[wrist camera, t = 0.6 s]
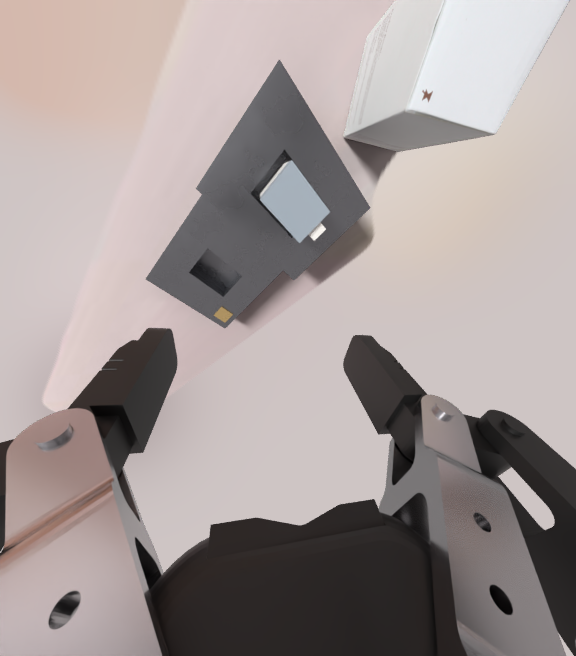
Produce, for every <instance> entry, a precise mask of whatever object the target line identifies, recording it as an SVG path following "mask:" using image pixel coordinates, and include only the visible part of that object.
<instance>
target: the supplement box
mask: <svg viewBox="0 0 576 656" xmlns="http://www.w3.org/2000/svg"><path fill="white" fill-rule="evenodd" d="M569 1H570V0H395V1H394V2H393V4H392V5H391V6H390V8H389V9H388V10H387V12H386V13H385V14H384V15H383V17H382V18H381V19H380V20H379V22H378V23H377V24H376V26H375V27H374V28H373V30H372V31H371V32H370V34H369V35H368V36H367V39H366V43H365V47H364V51H363V55H362V59H361V64H360V68H359V72H358V76H357V80H356V85H355V89H354V93H353V98H352V102H351V106H350V110H349V115H348V119H347V123H346V127H345V132H344V136H343V137H344V138H347V139H351V140H355V141H359V142H363V143H366V144H370V145H374V146H378V147H382V148H385V149H389V150H393V151H397V152H400V151H405V150H411V149H416V148H422V147H427V146H433V145H439V144H446V143H451V142H457V141H462V140H468V139H474V138H479V137H485V136H490V135H494V134H496V133H497V131H498V129H499V127H500V126H501V124H502V122H503V120H504V118H505V116H506V115H507V113H508V111H509V109H510V107H511V106H512V104H513V102H514V100H515V98H516V96H517V95H518V93H519V91H520V89H521V87H522V85H523V84H524V82H525V80H526V78H527V77H528V75H529V73H530V71H531V69H532V67H533V65H534V64H535V62H536V60H537V59H538V57H539V55H540V53H541V51H542V50H543V48H544V46H545V44H546V42H547V41H548V39H549V37H550V35H551V33H552V31H553V30H554V28H555V26H556V24H557V23H558V21H559V19H560V17H561V15H562V14H563V12H564V10H565V8H566V6H567V5H568V3H569Z"/></svg>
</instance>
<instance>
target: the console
mask: <svg viewBox="0 0 576 656" xmlns="http://www.w3.org/2000/svg"><path fill="white" fill-rule="evenodd" d="M291 160H292V161H293V162H294V164H295V165H296V166H297V168H298V169H299V170H300V172H301V173H302V174H303V176H304V177H305V178H306V180H307V181H308V183H309V184H310V185H311V187H312V188H313V189H314V191H315V192H316V193H317V195H318V196H319V197H320V199H321V200H322V201H323V203H324V204H325V206H326V207H327V208H328V210H329V211H330V213H329V214H328V215H327V216H326V217H325V218H324V219H323V220H322V221H321V223H322V225H323V226H324V227H325V228H326V230H325V231H324V232H323V233H322V234H321V235H320V236H319V237H318V238H317V239H316V240H315V241H314V240H313V239H312V238H311V237H310V236H309V234H308V235H307V236H306V237H305V238H304V239H303V240H302V241H301V242H300V243H299V242H298V241H297V240H296V239H295V238H294V237H293V236H292V234H291V233H290V232H289V231H288V230H287V229H286V228H285V227H284V226H283V225H282V224H281V222H280V221H279V220H278V219H277V218H276V217H275V216H274V215H273V214H272V213H271V212H270V210H269V209H268V208H267V207H266V206H265V205H264V204H263V203H262V202H261V201H260V191H261V190H262V189H263V187H264V186H265V185H266V184H267V182H268V181H269V180H270V179H271V177H272V176H273V175H274V173H275V172H276V171H277V170H278V168H279V167H280V166H281V165H282V164H284V163H286V162H289V161H291ZM196 189H197V190H198V191H199V192H200V193H201V194H202V195H201V197H200V198H199V200H198V201H197V203H196V204H195V206H194V207H193V209H192V210H191V212H190V213H189V215H188V216H187V218H186V219H185V221H184V222H183V224H182V225H181V227H180V228H179V230H178V231H177V233H176V234H175V236H174V237H173V239H172V240H171V242H170V243H169V245H168V246H167V248H166V249H165V251H164V252H163V254H162V255H161V257H160V258H159V260H158V261H157V263H156V264H155V266H154V267H153V269H152V270H151V272H150V273H149V275H148V276H147V278H146V280H148V281H149V282H151V283H153V284H154V285H156V286H157V287H159V288H161V289H162V290H164V291H165V292H167V293H169V294H170V295H172V296H174V297H175V298H177V299H178V300H180V301H182V302H183V303H185V304H186V305H188V306H190V307H191V308H193V309H194V310H196V311H198V312H199V313H201V314H203V315H204V316H206V317H207V318H209V319H211V320H212V321H214V322H215V323H217V324H219V325H220V326H222V327H223V328H226V327H227V326H228V325H229V324H230V323H231V322H232V321H233V320H234V319H235V318H236V317H237V316H238V315H239V314H240V313H241V312H242V311H243V310H244V309H245V308H246V307H247V306H248V305H249V304H250V303H251V302H252V301H253V300H254V299H255V298H256V297H257V296H258V295H259V294H260V293H261V292H262V291H263V290H264V289H265V288H266V287H267V286H268V285H269V284H270V283H271V282H272V281H273V280H274V279H275V278H276V277H277V276H278V275H279V274H280V273H281V272H282V271H284V272H285V273H286V274H288V275H289V276H290V277H291V278H292V279H293V280H295V279H296V278H297V277H298V276H299V275H300V274H301V273H302V272H303V271H304V270H305V269H307V268H308V267H309V266H310V265H311V264H312V263H313V262H314V261H315V260H316V259H317V258H318V257H319V256H320V255H321V254H322V253H323V252H324V251H325V250H327V249H328V248H329V247H330V246H331V245H332V244H333V243H334V242H335V241H336V240H337V239H338V238H339V237H340V236H341V235H342V234H343V233H344V232H345V231H347V230H348V229H349V228H350V227H351V226H352V225H353V224H354V223H355V222H356V221H357V220H358V219H359V218H360V217H361V216H362V215H363V214H364V213H366V212H367V211H368V210H369V209H370V206H369V205H368V203H367V202H366V200H365V198H364V197H363V195H362V193H361V192H360V190H359V188H358V187H357V185H356V184H355V182H354V180H353V179H352V177H351V175H350V174H349V172H348V171H347V169H346V167H345V166H344V164H343V162H342V161H341V159H340V157H339V156H338V154H337V153H336V151H335V149H334V148H333V146H332V144H331V143H330V141H329V139H328V138H327V136H326V135H325V133H324V131H323V130H322V128H321V126H320V125H319V123H318V122H317V120H316V118H315V117H314V115H313V113H312V112H311V110H310V108H309V107H308V105H307V104H306V102H305V100H304V99H303V97H302V95H301V94H300V92H299V90H298V89H297V87H296V86H295V84H294V82H293V81H292V79H291V77H290V76H289V74H288V73H287V71H286V69H285V68H284V66H283V64H282V63H281V61H280V59H279V61H278V62H277V64H276V66H275V67H274V69H273V70H272V72H271V73H270V75H269V76H268V78H267V79H266V81H265V83H264V84H263V86H262V87H261V89H260V90H259V92H258V93H257V95H256V96H255V98H254V100H253V101H252V103H251V104H250V106H249V107H248V109H247V110H246V112H245V113H244V115H243V117H242V118H241V120H240V121H239V123H238V124H237V126H236V127H235V129H234V130H233V132H232V134H231V135H230V137H229V138H228V140H227V141H226V143H225V144H224V146H223V147H222V149H221V151H220V152H219V154H218V155H217V157H216V158H215V160H214V161H213V163H212V164H211V166H210V168H209V169H208V171H207V172H206V174H205V175H204V177H203V178H202V180H201V181H200V183H199V185H198V186H197V188H196Z"/></svg>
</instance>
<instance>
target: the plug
mask: <svg viewBox="0 0 576 656" xmlns="http://www.w3.org/2000/svg"><path fill="white" fill-rule="evenodd" d="M260 201H261V202H262V203H263V204H264V205H265V206H266V207H267V208H268V209H269V210H270V212H271V213H272V214H273V215H274V216H275V217H276V218H277V219H278V220H279V221H280V222H281V224H282V225H283V226H284V227H285V228H286V229H287V230H288V231H289V232H290V233H291V234H292V236H293V237H294V238H295V239H296V240H297V241H298V242H299V243H300V242H301V241H302V240H303V239H304V238H305V237H306V236H307V235H308V234H309V236H310V237H311V238H312V239H313V240H314V241H315V240H316V239H317V238H318V237H319V236H320V235H321V234H322V233H323V232H324V231H325V230H326V228H325V227H324V226H323V225H322V223H321V221H322V220H323V219H324V218H325V217H326V216H327V215H328V214H329V213H330V211H329V210H328V208H327V207H326V206H325V204H324V203H323V201H322V200H321V199H320V197H319V196H318V195H317V193H316V192H315V191H314V189H313V188H312V187H311V185H310V184H309V183H308V181H307V180H306V178H305V177H304V176H303V174H302V173H301V172H300V170H299V169H298V168H297V166H296V165H295V164H294V162H293V161H292V160H291V161H289V162H286V163H284V164H282V165H281V166H280V167H279V168H278V170H277V171H276V172H275V173H274V175H273V176H272V177H271V179H270V180H269V181H268V182H267V184H266V185H265V186H264V187H263V189H262V190H261V191H260Z"/></svg>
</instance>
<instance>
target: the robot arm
mask: <svg viewBox="0 0 576 656" xmlns="http://www.w3.org/2000/svg"><path fill="white" fill-rule="evenodd" d="M343 366H344V371H345V373H346V375H347V377H348V379H349V381H350V382H351V384H352V386H353V388H354V390H355V392H356V394H357V395H358V397H359V399H360V401H361V403H362V405H363V407H364V408H365V410H366V412H367V414H368V416H369V418H370V419H371V421H372V423H373V425H374V427H375V429H376V431H377V433H378V434H391V436H392V437H393V438H392V440H391V441H390V445H389V456H388V457H389V458H388V468H387V479H386V488H385V492H384V495H383V498H382V500H381V502H380V506H379V509H378V507H377V505H376V502H375V500H374V499H372V500H366V501H360V502H353V503H347V504H341V505H338V506H336V507H335V508H333V509H331V510H329V511H327V512H326V513H324V514H322V515H321V516H319V517H317V518H315V519H314V520H312V521H310V522H309V523H307V524H305V525H301V526H298V525H292V524H288V523H282V522H277V521H271V520H266V519H261V518H251V519H245V520H238V521H232V522H226V523H220V524H213V525H211V528H210V537H209V538H207V539H205V540H203V541H201V542H199V543H198V544H197V545H195V546H194V547H192V548H191V549H189V550H188V551H187V552H185V553H184V554H183V555H182V556H181V557H180V558H178V559H177V560H176V561H175V562H174V563H173V564H172V565H171V566H170V567H169V568H168V569H167V570H166V572H164V573H163V570H162V567H161V565H160V562H159V559H158V557H157V554H156V551H155V549H154V546H153V544H152V541H151V539H150V537H149V535H148V533H147V531H146V528H145V526H144V523H143V521H142V518H141V515H140V512H139V509H138V507H137V504H136V501H135V498H134V495H133V493H132V490H131V487H130V485H129V482H128V479H127V476H126V473H125V471H124V468H123V466H124V464H125V462H126V459H127V457H128V455H129V454H131V453H143V452H144V449H145V447H146V444H147V442H148V439H149V437H150V435H151V432H152V430H153V427H154V425H155V422H156V420H157V417H158V415H159V412H160V410H161V407H162V405H163V403H164V400H165V398H166V395H167V393H168V390H169V388H170V386H171V383H172V381H173V378H174V376H175V373H176V370H177V354H176V349H175V343H174V338H173V333H172V330H171V329H166V328H148V329H147V330H146V331H145V332H144V333H143V335H142V336H141V337H140V339H139V340H138V341H136V340H132V341H130V342H128V343H127V344H125V345H124V346H122V347H120V348H119V349H118V350H117V351H116V352H115V353H114V354H113V356H112V357H111V358H110V359H109V361H108V362H107V363H106V364H105V365H104V366H103V367H102V371H99V372H98V373H97V375H96V376H95V377H94V378H93V379H92V381H91V382H90V383H89V384H88V385H87V386H86V388H85V389H84V390H83V391H82V392H81V394H80V395H79V396H78V397H77V398H76V400H75V401H74V402H73V403H72V404H71V405H70V407H69V408H68V409H67V410H62V411H59V412H56V413H53V414H50V415H48V416H46V417H44V418H42V419H40V420H38V421H37V422H35V423H33V424H32V425H30V426H29V427H28V428H26V429H25V430H23V431H22V432H21V433H20V434H19V435H18V436H17V437H16V438H15V439H13V440H9V441H6V442H2V443H0V551H1V549H2V548H3V546H4V548H3V550H2V552H1V553H0V656H566V654H565V651H564V648H563V645H562V643H561V640H560V637H559V635H558V633H559V634H560V635H561V637H562V639H563V640H564V642H565V643H566V645H567V646H568V648H569V649H570V650H571V652H572V653H573V655H574V656H576V469H575V468H574V467H572V466H571V465H570V464H569V463H568V462H567V461H566V460H565V459H563V458H562V457H561V456H560V455H559V454H558V453H557V452H555V451H554V450H553V449H552V448H551V447H550V446H549V445H547V444H546V443H545V442H544V441H543V440H542V439H541V438H539V437H538V436H537V435H536V434H535V433H534V432H533V431H531V430H530V429H529V428H528V427H527V426H526V425H524V424H523V423H522V422H520V421H519V420H517V419H516V418H514V417H512V416H510V415H508V414H506V413H504V412H501V411H497V410H489V411H487V412H486V413H485V414H484V415H483V416H482V417H481V418H476V417H472V416H468V415H463V414H462V412H461V411H460V410H459V409H458V408H457V407H455V406H454V405H453V404H451V403H450V402H449V401H447V400H445V399H443V398H440V397H438V396H435V395H427V394H426V392H425V391H424V390H423V389H422V388H421V387H420V386H419V385H418V383H417V382H416V381H415V380H414V379H413V378H412V377H411V376H410V374H409V373H407V371H406V370H404V369H403V367H402V366H401V364H400V363H398V362H397V360H396V359H395V358H394V356H393V355H392V354H391V353H390V352H388V351H387V350H385V349H384V348H383V347H381V346H380V345H379V344H378V343H377V342H376V340H375V339H374V338H373V337H372V336H366V335H355V336H353V338H352V340H351V342H350V345H349V348H348V350H347V353H346V356H345V358H344V363H343ZM511 467H512V468H513V469H514V470H515V471H516V472H517V473H518V474H519V475H520V477H521V478H522V479H523V480H524V481H525V482H526V483H527V484H528V485H529V486H530V487H531V489H532V490H533V491H534V492H536V494H537V495H538V496H539V497H540V498H541V499H542V500H543V502H544V503H545V504H546V505H547V506H548V507H549V509H550V510H551V512H552V514H553V516H554V519H555V524H554V526H553V527H552V528H550V529H547V530H544V529H542V528H541V527H540V526H539V525H538V524H537V523H536V521H535V520H534V519H533V518H532V516H531V515H530V514H529V513H528V512H527V510H526V509H525V508H524V507H523V506H522V504H521V503H520V502H519V501H518V500H517V499H516V497H515V496H514V495H513V494H512V492H511V491H510V490H509V489H508V488H507V487H506V485H505V484H504V483H503V482H502V481H501V479H500V478H499V477H498V476H499V475H500V474H502V473H503V472H505V471H506V470H508V469H509V468H511ZM557 631H558V632H557Z"/></svg>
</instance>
